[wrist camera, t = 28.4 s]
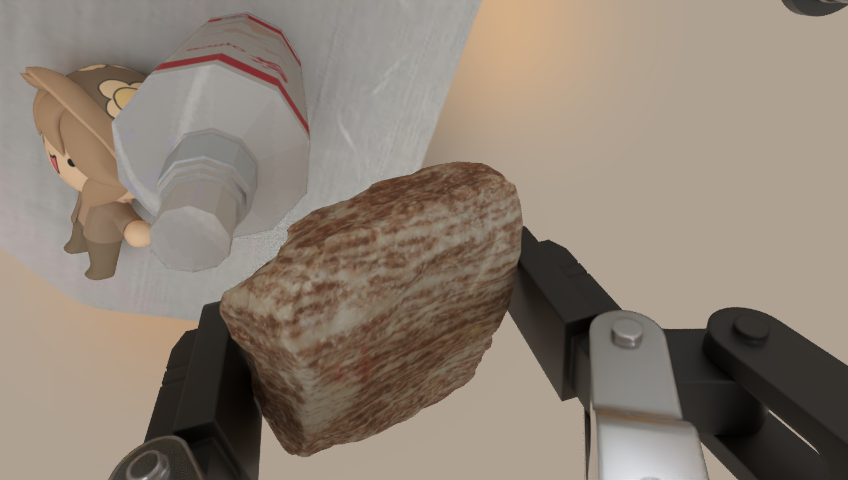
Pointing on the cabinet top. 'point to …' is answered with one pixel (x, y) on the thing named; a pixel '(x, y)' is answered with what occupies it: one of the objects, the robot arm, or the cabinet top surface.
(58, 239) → the cabinet top surface
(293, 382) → the stone
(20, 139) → the cabinet top surface
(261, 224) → the spray bottle
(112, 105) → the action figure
